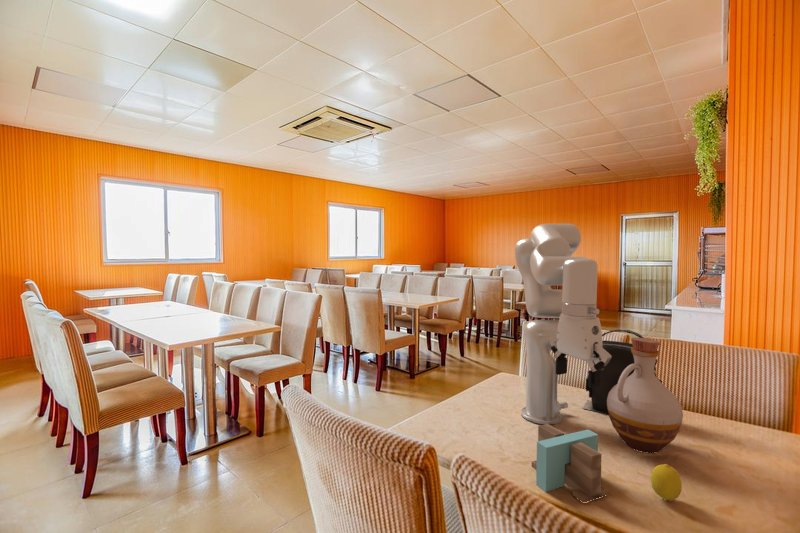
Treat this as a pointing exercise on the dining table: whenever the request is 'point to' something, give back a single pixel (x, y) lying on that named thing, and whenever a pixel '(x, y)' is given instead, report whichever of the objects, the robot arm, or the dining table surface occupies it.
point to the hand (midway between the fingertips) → (576, 380)
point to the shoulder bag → (611, 372)
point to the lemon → (666, 482)
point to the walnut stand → (578, 467)
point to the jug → (644, 403)
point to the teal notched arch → (559, 457)
